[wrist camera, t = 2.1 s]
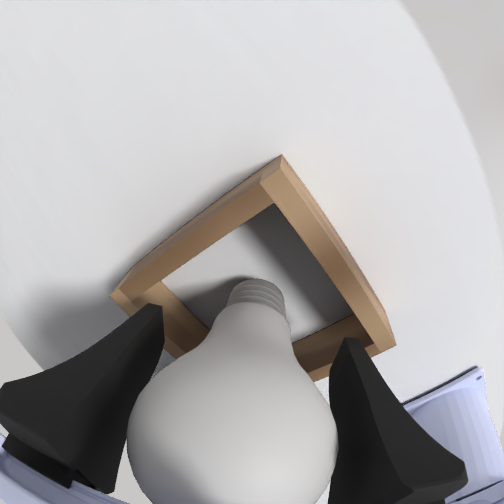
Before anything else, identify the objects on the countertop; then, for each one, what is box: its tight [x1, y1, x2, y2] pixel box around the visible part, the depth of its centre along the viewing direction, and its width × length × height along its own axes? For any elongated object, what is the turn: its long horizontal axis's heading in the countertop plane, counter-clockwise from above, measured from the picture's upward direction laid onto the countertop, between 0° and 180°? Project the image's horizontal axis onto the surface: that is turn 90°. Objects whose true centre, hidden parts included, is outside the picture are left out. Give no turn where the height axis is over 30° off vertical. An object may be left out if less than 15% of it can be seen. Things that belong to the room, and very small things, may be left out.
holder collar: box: [110, 155, 396, 382], centre depth 14 cm, size 9×9×2 cm
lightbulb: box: [127, 279, 339, 504], centre depth 10 cm, size 6×6×11 cm
